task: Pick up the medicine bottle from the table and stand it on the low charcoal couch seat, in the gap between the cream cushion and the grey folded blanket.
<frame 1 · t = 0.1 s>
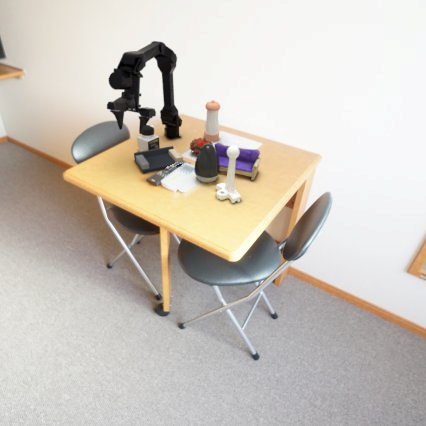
hand: (130, 131, 126), 15 cm above the table, tool pointing down, fingers open, 9 cm apart
medicine bottle: (149, 151, 148), on the table
dark grey tapered dome: (206, 179, 129), on the table
toy sofa: (232, 172, 135), on the table
pepper shaker: (211, 139, 161), on the table
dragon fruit: (201, 154, 147), on the table
joystick: (225, 196, 120), on the table
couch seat: (159, 163, 138), on the table
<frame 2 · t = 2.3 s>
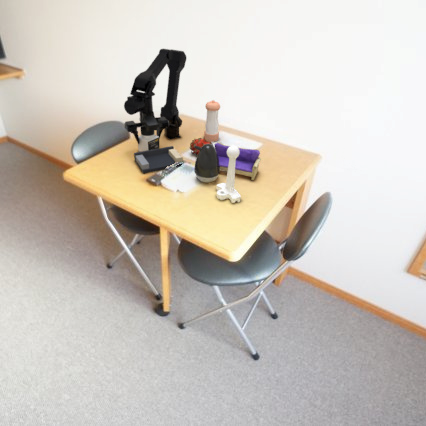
hand: (148, 142, 145), 4 cm above the table, tool pointing down, fingers closed on medicine bottle, 9 cm apart
medicine bottle: (149, 151, 148), on the table, touching gripper
everything else where it was.
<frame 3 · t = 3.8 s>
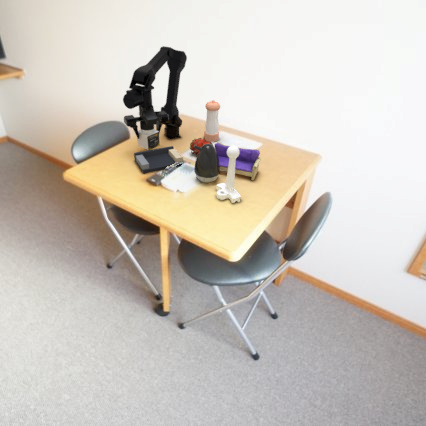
hand: (148, 136, 143), 7 cm above the table, tool pointing down, fingers closed on medicine bottle, 9 cm apart
medicine bottle: (148, 146, 146), point 2 cm above the table, touching gripper
everything else where it was.
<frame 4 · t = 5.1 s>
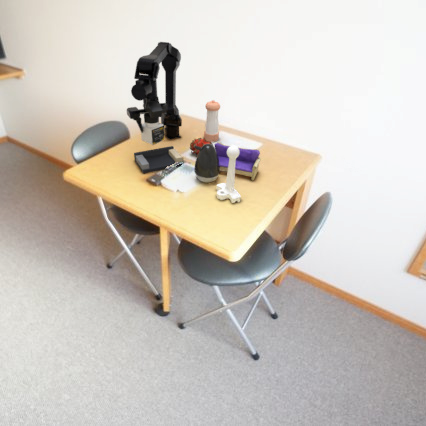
hand: (152, 130, 135), 13 cm above the table, tool pointing down, fingers closed on medicine bottle, 9 cm apart
medicine bottle: (153, 140, 137), point 8 cm above the table, touching gripper
everything else where it was.
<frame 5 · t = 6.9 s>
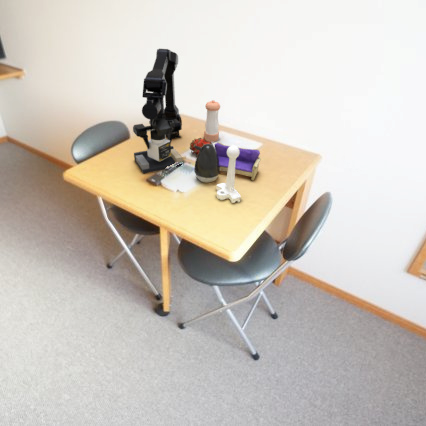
hand: (158, 147, 133), 8 cm above the table, tool pointing down, fingers closed on medicine bottle, 9 cm apart
medicine bottle: (159, 156, 136), point 4 cm above the table, touching gripper
everything else where it was.
when the fingers open (6 cm above the table, at t = 8.2 s): medicine bottle stays where it is, resting on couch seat.
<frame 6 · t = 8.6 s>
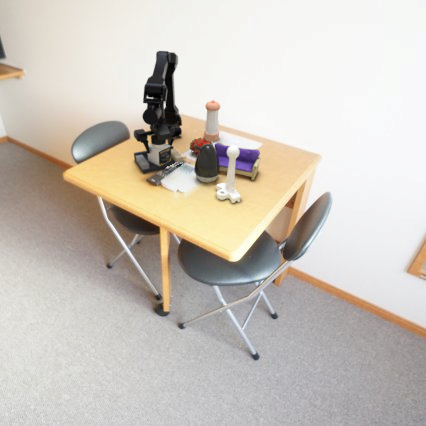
hand: (159, 151, 134), 6 cm above the table, tool pointing down, fingers open, 9 cm apart
medicine bottle: (159, 161, 137), point 1 cm above the table, touching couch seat, gripper
everything else where it was.
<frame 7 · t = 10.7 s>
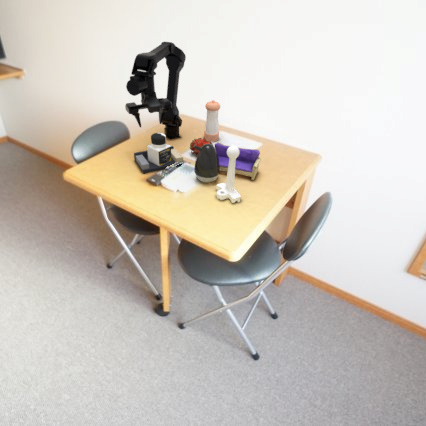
hand: (150, 125, 139), 13 cm above the table, tool pointing down, fingers open, 9 cm apart
medicine bottle: (159, 161, 137), point 1 cm above the table, touching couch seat
everything else where it was.
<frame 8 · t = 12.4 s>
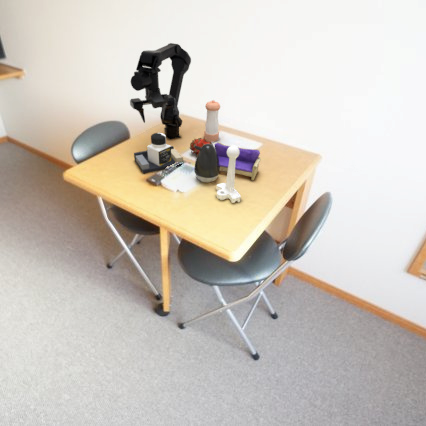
hand: (154, 121, 142), 13 cm above the table, tool pointing down, fingers open, 9 cm apart
nothing on the table moved.
at the end: medicine bottle 0.3 cm from the target spot, point 1.3 cm above the table; medicine bottle tilted 0°; the gripper is holding nothing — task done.
